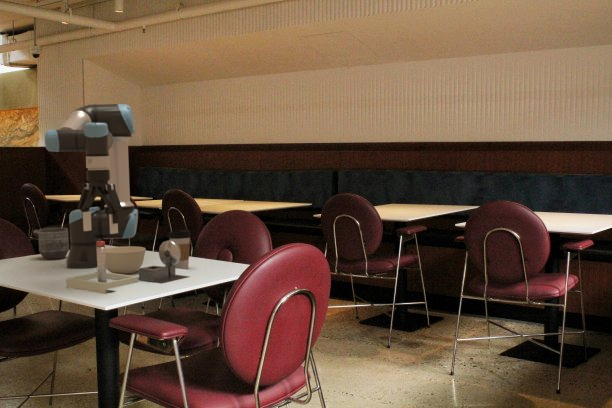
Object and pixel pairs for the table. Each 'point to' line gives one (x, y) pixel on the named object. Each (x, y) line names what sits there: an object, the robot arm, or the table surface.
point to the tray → (99, 287)
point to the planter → (53, 243)
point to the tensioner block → (169, 258)
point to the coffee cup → (182, 246)
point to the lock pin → (101, 261)
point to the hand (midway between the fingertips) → (100, 232)
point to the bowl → (124, 259)
